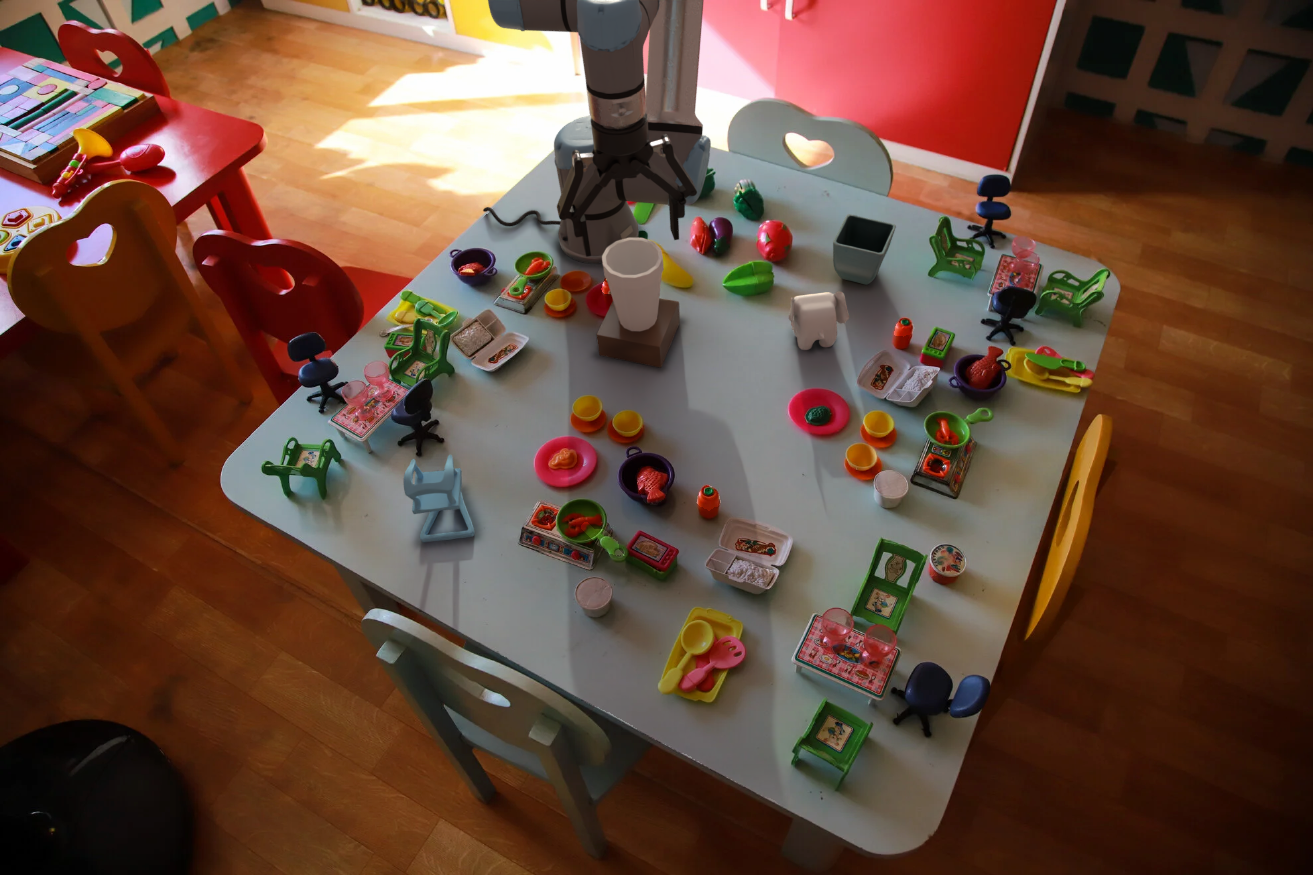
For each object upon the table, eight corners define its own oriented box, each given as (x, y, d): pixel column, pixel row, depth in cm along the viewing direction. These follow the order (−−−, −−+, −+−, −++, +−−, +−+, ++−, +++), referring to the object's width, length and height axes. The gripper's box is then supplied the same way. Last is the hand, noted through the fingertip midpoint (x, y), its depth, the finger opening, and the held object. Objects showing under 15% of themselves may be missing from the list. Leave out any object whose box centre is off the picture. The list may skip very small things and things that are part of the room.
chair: (476, 489, 123) (456, 441, 114) (474, 536, 118) (454, 490, 109) (425, 495, 123) (401, 447, 114) (421, 543, 118) (395, 497, 109)
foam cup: (668, 299, 139) (665, 238, 129) (663, 338, 134) (660, 278, 123) (613, 297, 140) (605, 237, 130) (606, 336, 135) (597, 276, 124)
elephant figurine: (830, 306, 143) (836, 267, 136) (848, 355, 136) (856, 317, 129) (776, 312, 143) (780, 273, 136) (791, 363, 136) (796, 324, 129)
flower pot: (841, 252, 152) (847, 212, 144) (888, 264, 149) (897, 224, 142) (826, 282, 147) (832, 243, 140) (874, 295, 144) (883, 255, 137)
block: (599, 355, 139) (596, 334, 135) (620, 311, 145) (617, 290, 141) (661, 367, 137) (659, 347, 133) (679, 322, 143) (679, 301, 139)
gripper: (528, 147, 104) (553, 274, 121) (718, 114, 107) (717, 243, 123) (521, 115, 109) (546, 242, 126) (703, 84, 111) (704, 212, 128)
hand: (631, 242), depth 125 cm, fingers open, 13 cm apart
